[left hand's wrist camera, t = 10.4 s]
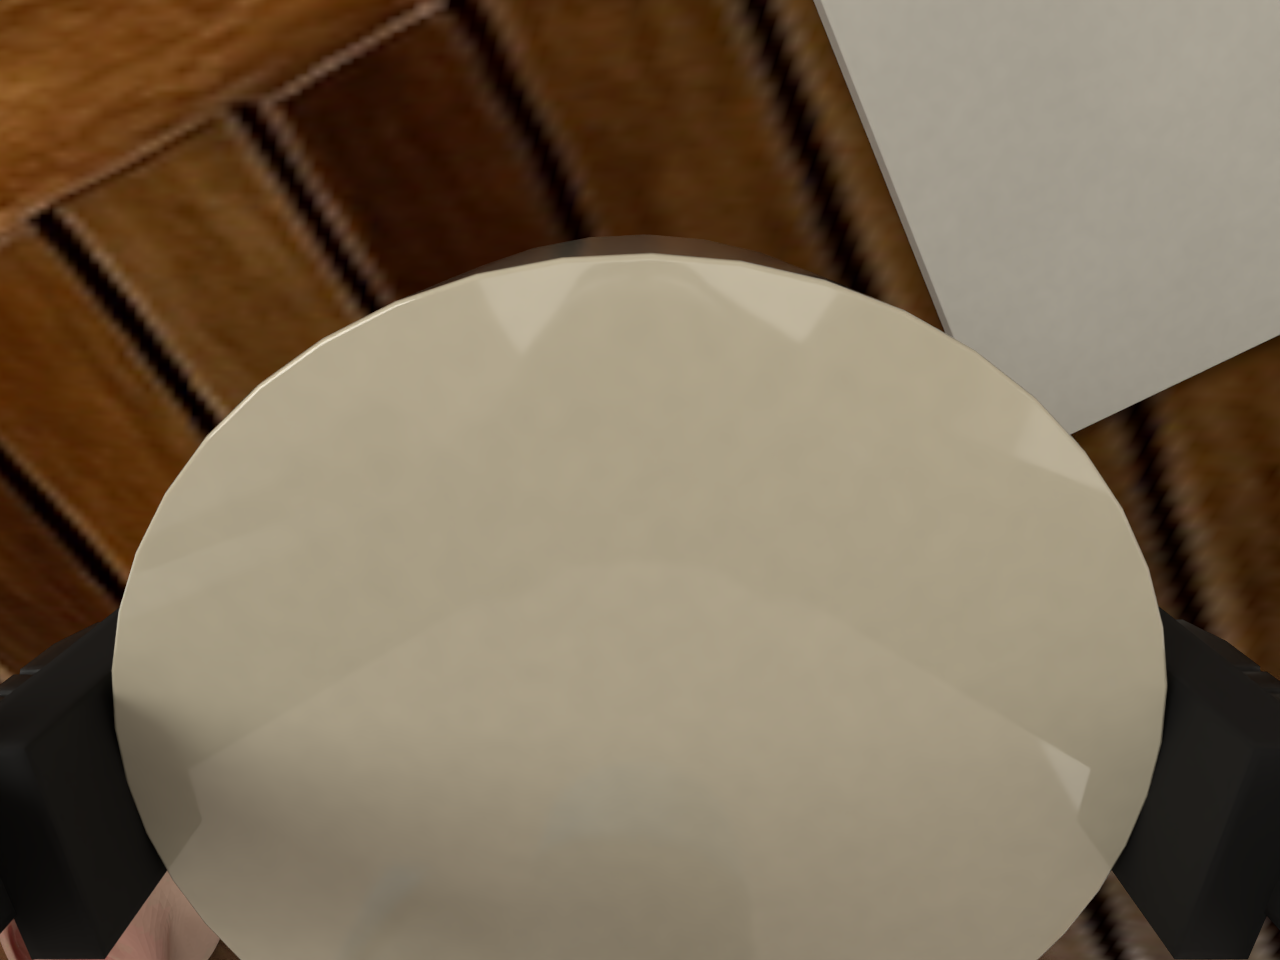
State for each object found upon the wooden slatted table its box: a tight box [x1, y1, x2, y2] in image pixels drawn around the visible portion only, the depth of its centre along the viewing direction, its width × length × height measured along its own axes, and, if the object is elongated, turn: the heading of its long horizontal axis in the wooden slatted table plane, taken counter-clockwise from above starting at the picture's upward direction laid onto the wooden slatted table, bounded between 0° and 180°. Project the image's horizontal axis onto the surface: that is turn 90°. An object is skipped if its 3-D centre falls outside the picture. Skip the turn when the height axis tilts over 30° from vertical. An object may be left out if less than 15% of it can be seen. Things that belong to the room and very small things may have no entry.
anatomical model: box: [0, 871, 220, 960], centre depth 36 cm, size 13×4×12 cm
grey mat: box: [813, 0, 1280, 434], centre depth 25 cm, size 20×14×1 cm
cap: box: [112, 235, 1167, 960], centre depth 9 cm, size 11×11×4 cm
